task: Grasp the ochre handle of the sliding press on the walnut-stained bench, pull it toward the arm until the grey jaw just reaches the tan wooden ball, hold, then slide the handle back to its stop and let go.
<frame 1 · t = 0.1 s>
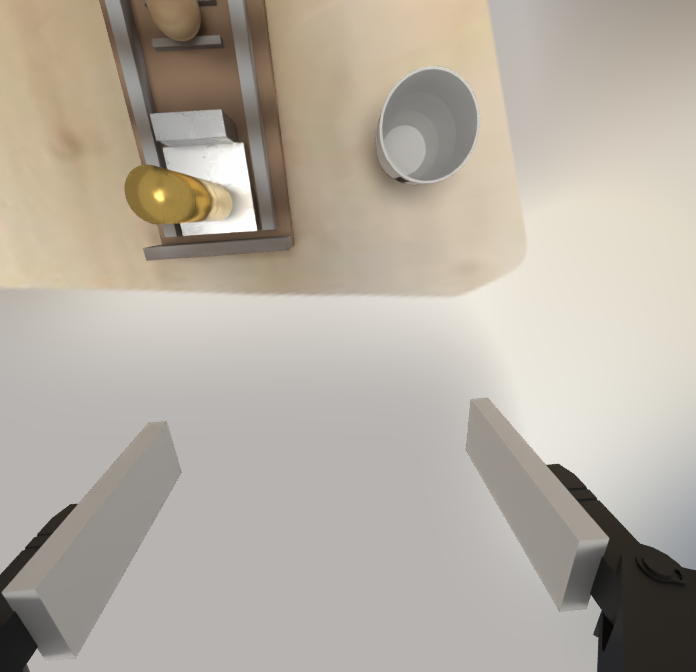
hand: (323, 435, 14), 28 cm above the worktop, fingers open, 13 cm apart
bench: (210, 119, 33), on the worktop
nut: (184, 22, 29), point 2 cm above the worktop, touching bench
lever: (188, 173, 27), point 9 cm above the worktop, slide at 0.0 cm
cup: (402, 151, 36), on the worktop
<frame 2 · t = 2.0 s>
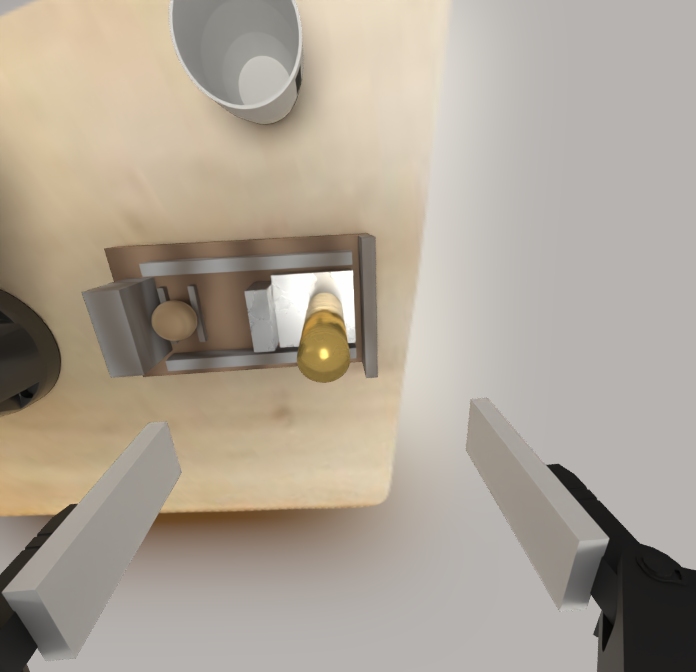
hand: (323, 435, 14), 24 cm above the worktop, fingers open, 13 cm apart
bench: (253, 304, 37), on the worktop
nut: (183, 314, 34), point 2 cm above the worktop, touching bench
lever: (301, 327, 28), point 9 cm above the worktop, slide at 0.0 cm
cup: (265, 90, 30), on the worktop
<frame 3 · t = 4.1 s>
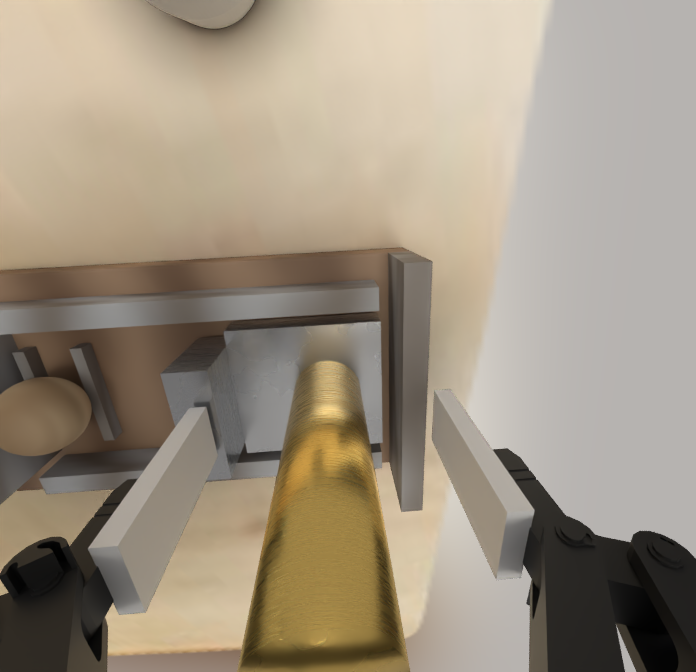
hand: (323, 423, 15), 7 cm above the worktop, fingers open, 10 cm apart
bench: (204, 368, 21), on the worktop
nut: (71, 395, 19), point 2 cm above the worktop, touching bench
lever: (276, 459, 13), point 9 cm above the worktop, slide at -0.1 cm, touching gripper
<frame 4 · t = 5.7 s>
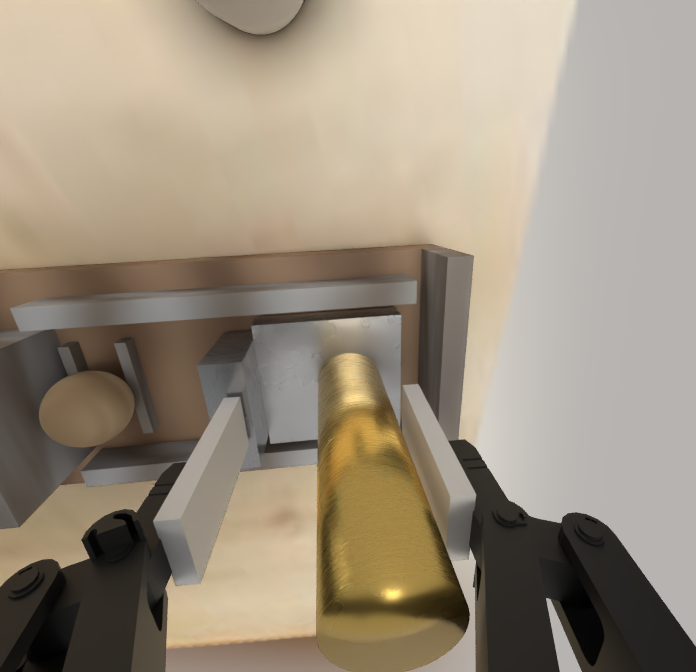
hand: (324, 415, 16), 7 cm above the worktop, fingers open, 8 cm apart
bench: (238, 362, 22), on the worktop
nut: (112, 389, 19), point 2 cm above the worktop, touching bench
lever: (312, 444, 14), point 9 cm above the worktop, slide at 0.8 cm, touching gripper
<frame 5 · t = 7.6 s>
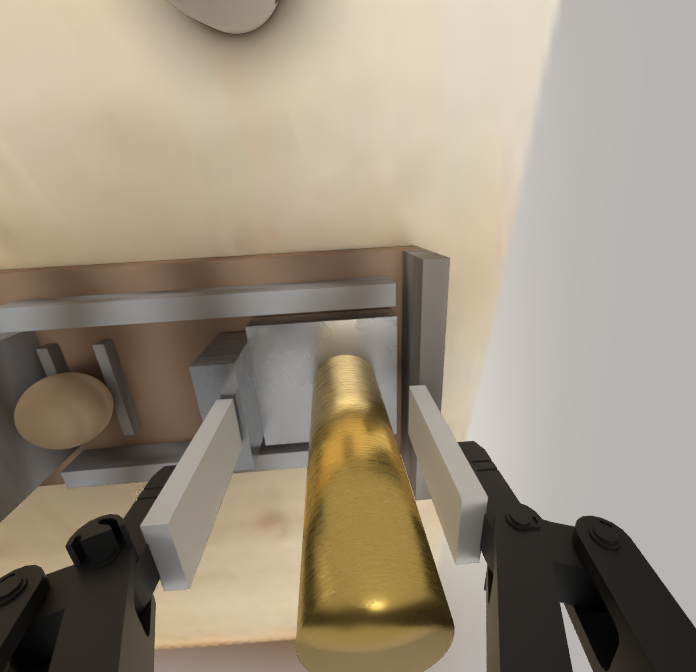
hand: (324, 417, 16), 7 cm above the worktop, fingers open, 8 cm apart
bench: (220, 364, 22), on the worktop
nut: (92, 390, 19), point 2 cm above the worktop, touching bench
lever: (304, 447, 14), point 9 cm above the worktop, slide at -0.1 cm, touching gripper
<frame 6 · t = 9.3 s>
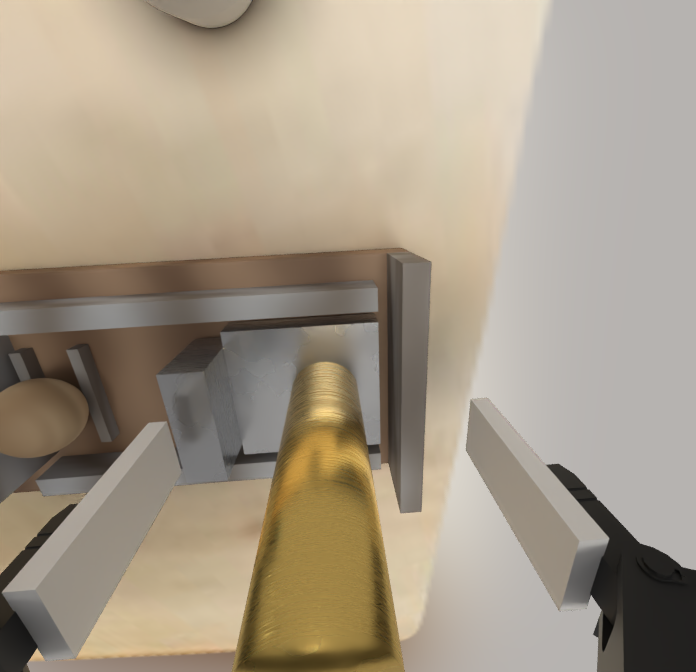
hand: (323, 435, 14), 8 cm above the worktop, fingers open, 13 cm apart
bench: (202, 369, 21), on the worktop
nut: (68, 396, 19), point 2 cm above the worktop, touching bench
lever: (273, 461, 13), point 9 cm above the worktop, slide at 0.0 cm
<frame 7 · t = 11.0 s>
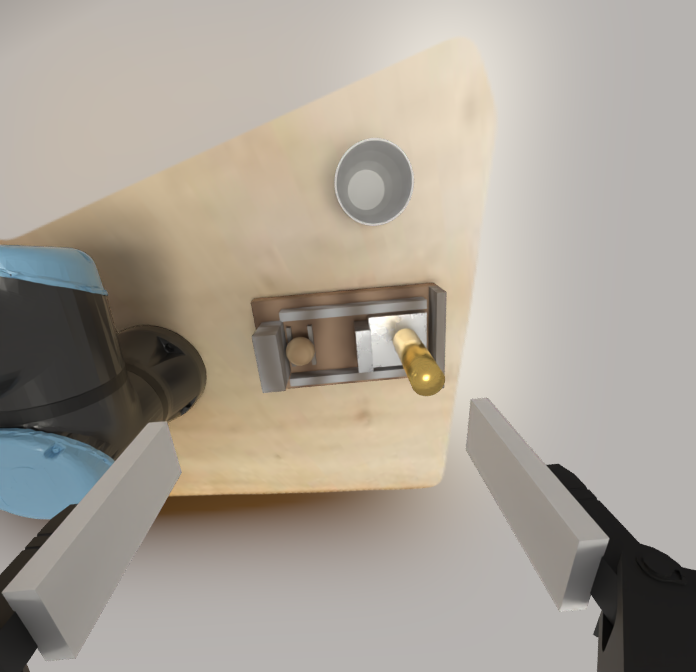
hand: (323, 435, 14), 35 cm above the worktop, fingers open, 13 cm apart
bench: (347, 335, 50), on the worktop
nut: (301, 345, 47), point 2 cm above the worktop, touching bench
lever: (397, 356, 41), point 9 cm above the worktop, slide at 0.0 cm
cup: (365, 190, 43), on the worktop
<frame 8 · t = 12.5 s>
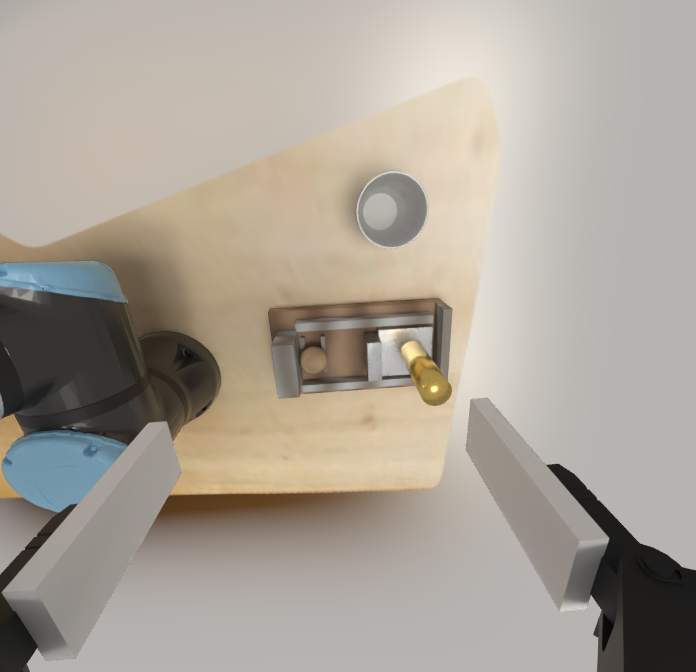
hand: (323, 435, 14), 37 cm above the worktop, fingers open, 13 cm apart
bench: (357, 345, 53), on the worktop
nut: (314, 354, 50), point 2 cm above the worktop, touching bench
lever: (406, 367, 44), point 9 cm above the worktop, slide at 0.0 cm
cup: (379, 212, 46), on the worktop
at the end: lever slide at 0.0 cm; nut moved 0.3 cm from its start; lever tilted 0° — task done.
